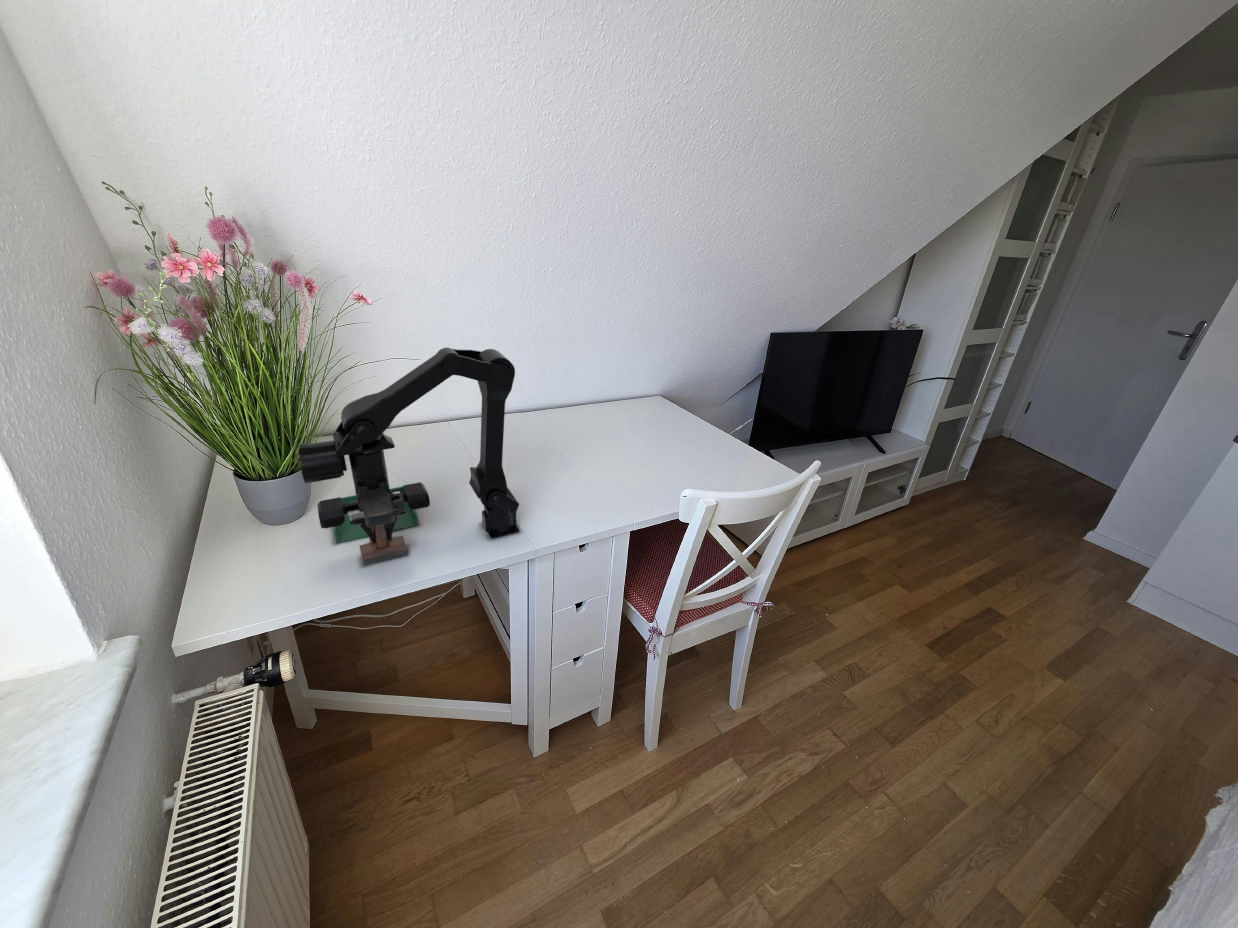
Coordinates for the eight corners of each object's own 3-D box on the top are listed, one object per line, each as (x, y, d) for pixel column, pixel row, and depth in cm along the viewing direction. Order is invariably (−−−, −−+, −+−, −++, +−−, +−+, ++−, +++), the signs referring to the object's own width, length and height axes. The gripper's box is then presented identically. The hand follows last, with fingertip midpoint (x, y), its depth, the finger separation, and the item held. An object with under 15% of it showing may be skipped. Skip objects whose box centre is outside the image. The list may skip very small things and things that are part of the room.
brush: (404, 547, 105) (399, 514, 102) (407, 555, 103) (402, 522, 99) (361, 557, 102) (355, 524, 98) (363, 566, 99) (356, 532, 96)
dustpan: (418, 525, 112) (416, 513, 111) (336, 543, 105) (333, 530, 103) (401, 480, 128) (399, 468, 127) (329, 492, 121) (326, 480, 119)
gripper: (313, 503, 83) (331, 578, 90) (432, 481, 92) (440, 551, 99) (309, 472, 91) (326, 543, 98) (419, 455, 100) (427, 521, 107)
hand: (381, 540), depth 100 cm, fingers closed on brush, 2 cm apart
